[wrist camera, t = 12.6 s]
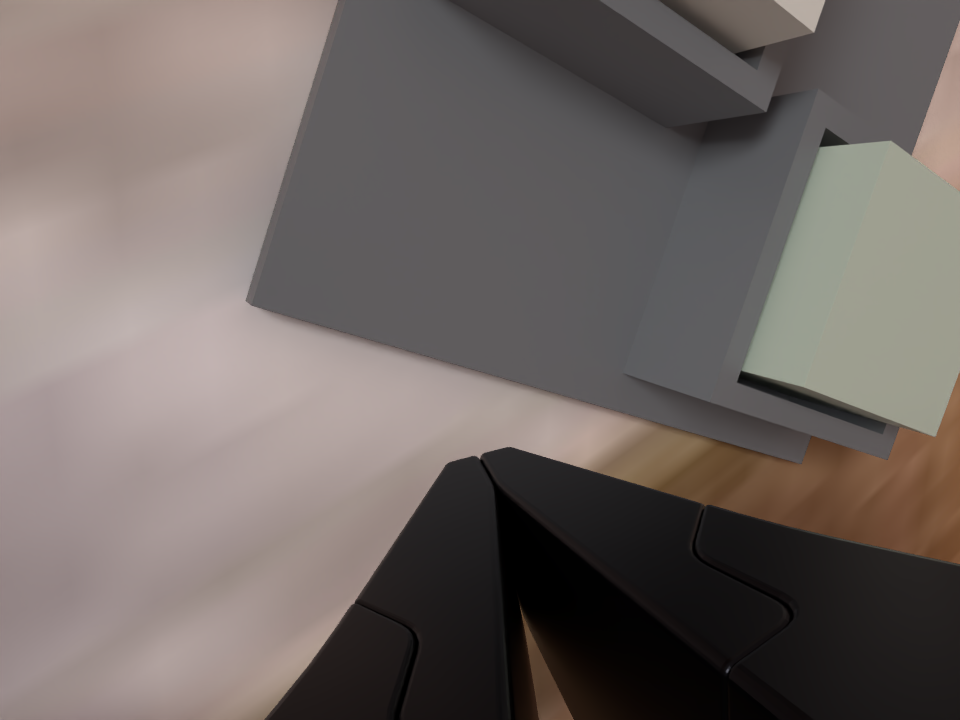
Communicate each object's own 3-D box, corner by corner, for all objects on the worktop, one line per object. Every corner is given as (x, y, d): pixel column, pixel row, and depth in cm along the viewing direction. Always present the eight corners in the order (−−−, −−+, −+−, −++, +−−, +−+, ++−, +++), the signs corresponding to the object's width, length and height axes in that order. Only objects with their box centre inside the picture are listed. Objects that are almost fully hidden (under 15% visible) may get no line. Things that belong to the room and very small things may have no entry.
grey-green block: (794, 397, 27) (938, 438, 22) (666, 350, 23) (803, 387, 19) (856, 223, 27) (1016, 226, 22) (735, 149, 23) (893, 133, 18)
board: (781, 456, 29) (894, 499, 25) (245, 301, 18) (280, 329, 14) (941, 5, 28) (1089, -33, 24) (478, -451, 17) (594, -676, 13)
